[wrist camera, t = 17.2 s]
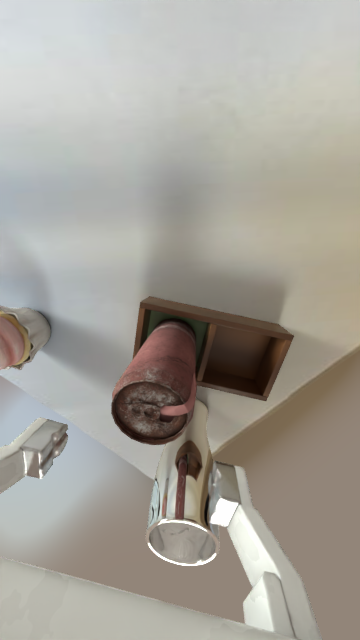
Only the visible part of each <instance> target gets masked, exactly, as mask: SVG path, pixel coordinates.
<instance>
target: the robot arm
mask: <svg viewBox="0 0 360 640" xmlns="http://www.w3.org/2000/svg"><path fill="white" fill-rule="evenodd" d="M67 429H68V425H67V424H63V423H59V422H56V421H52V420H49V419H45V418H41V417H40V418H38V419H36V420H35V421H34V422H33V423H32V424H31V425H30V426H29V427H28V428H27V429H26V430H25V431H24V432H23V433H21V434H20V435H19V436H18V437H17V438H16V439H15V440H14V441H13V442H12V443H11V444H10V445H9V446H8V445H5V446H3V447H1V448H0V494H1V493H2V492H4V491H5V490H7V489H8V488H9V487H11V486H12V485H14V484H15V483H16V482H18V481H19V480H21V479H22V478H23V477H25V475H26V476H31V477H36V478H40V479H42V478H43V477H44V476H45V474H46V473H47V472H48V470H49V469H50V467H51V466H52V465H53V459H54V458H56V457H57V456H59V455H60V454H61V452H62V451H63V449H64V447H65V445H66V443H67V440H68V435H67V434H66V431H67ZM208 494H209V496H210V497H211V499H210V502H209V522H210V523H213V524H217V525H220V526H224V527H227V530H228V532H229V535H230V537H231V539H232V542H233V544H234V546H235V548H236V551H237V553H238V556H239V558H240V560H241V562H242V565H243V567H244V569H245V572H246V574H247V576H248V579H249V581H250V583H251V586H252V588H253V589H252V590H251V592H250V593H249V595H248V596H247V598H246V599H245V601H244V603H243V609H244V616H245V624H243V623H239V622H235V621H232V620H228V619H224V618H221V617H217V616H213V615H210V614H206V613H203V612H199V611H196V610H192V609H189V608H185V607H182V606H178V605H174V604H170V603H167V602H163V601H160V600H156V599H153V598H149V597H145V596H142V595H138V594H135V593H131V592H127V591H124V590H120V589H117V588H113V587H109V586H106V585H102V584H98V583H95V582H92V581H88V580H84V579H81V578H77V577H74V576H70V575H66V574H62V573H59V572H55V571H52V570H48V569H45V568H41V567H38V566H34V565H30V564H27V563H23V562H20V561H16V560H12V559H9V558H5V557H1V556H0V640H322V637H321V634H320V631H319V628H318V625H317V622H316V619H315V616H314V613H313V610H312V607H311V603H310V600H309V597H308V594H307V591H306V588H305V585H304V582H303V580H302V578H301V577H300V575H299V573H298V572H297V570H296V569H295V567H294V566H293V564H292V563H291V561H290V560H289V558H288V556H287V555H286V553H285V552H284V550H283V549H282V547H281V546H280V544H279V543H278V541H277V540H276V538H275V536H274V535H273V533H272V532H271V530H270V529H269V527H268V526H267V524H266V523H265V521H264V520H263V518H262V517H261V515H260V513H259V512H258V511H257V509H256V508H253V504H252V499H251V495H250V491H249V486H248V482H247V478H246V473H245V470H244V468H243V467H239V466H234V465H231V464H227V463H222V462H218V461H214V463H213V470H211V471H210V474H209V479H208Z"/></svg>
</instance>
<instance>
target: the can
mask: <svg viewBox="0 0 360 640" xmlns="http://www.w3.org/2000/svg"><path fill="white" fill-rule="evenodd" d="M195 366H196V335H195V332H194V330H193V328H192V327H191V326H190V325H189V324H188V323H187V322H185V321H183V320H181V319H177V318H170V319H165V320H163V321H161V322H160V323H159V324H158V325H157V326H156V327H155V328H154V330H153V331H152V333H151V334H150V336H149V337H148V339H147V340H146V341H145V343H144V344H143V346H142V347H141V349H140V350H139V352H138V353H137V355H136V356H135V357H134V359H133V360H132V362H131V363H130V365H129V366H128V368H127V369H126V371H125V372H124V373H123V375H122V376H121V378H120V379H119V381H118V382H117V384H116V386H115V388H114V391H113V393H112V416H113V419H114V421H115V424H116V425H117V426H118V427H119V429H120V430H121V431H122V432H123V433H124V434H126V435H127V436H128V437H130V438H131V439H133V440H136V441H138V442H140V443H144V444H150V445H161V444H166V443H169V442H172V441H175V440H176V439H177V438H179V437H180V436H181V435H182V434H183V433H184V431H185V429H186V428H187V426H188V424H189V423H190V421H191V419H192V418H193V413H194V405H195V399H196V387H197V385H196V378H195Z"/></svg>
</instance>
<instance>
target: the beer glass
mask: <svg viewBox="0 0 360 640" xmlns="http://www.w3.org/2000/svg"><path fill="white" fill-rule="evenodd" d="M207 420H208V410H207V407H206V405H205V404H204V403H203V402H202V401H200V400H199V399H195V405H194V413H193V418H192V419H191V421H190V423H189V424H188V426H187V428H186V429H185V431H184V433H183V434H182V435H181V436H180V437H179V438H177V439H176V440H175V441H172V442H169V443H166V444H165V446H164V449H163V452H162V454H161V457H160V461H159V464H158V467H157V471H156V475H155V479H154V484H153V490H152V496H151V503H150V510H149V517H148V525H147V531H146V536H145V538H146V543H147V545H148V547H149V548H150V549H151V550H152V552H154V553H155V554H156V555H157V556H159V557H161V558H162V559H164V560H166V561H169V562H171V563H175V564H179V565H187V566H195V565H202V564H205V563H208V562H210V561H212V560H213V559H214V558H215V557H216V556H217V555H218V553H219V549H220V547H219V525H217V524H213V523H210V522H209V502H210V499H211V497H210V496H209V494H208V479H209V474H210V471H211V470H213V459H212V455H211V450H210V446H209V442H208V438H207V431H206V427H207Z"/></svg>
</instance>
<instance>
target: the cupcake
mask: <svg viewBox="0 0 360 640" xmlns="http://www.w3.org/2000/svg"><path fill="white" fill-rule="evenodd" d="M50 334H51V331H50V326H49V324H48V322H47V320H46V319H45V317H44V316H43V315H41V314H40V313H39V312H37V311H35V310H32V309H29V308H8V307H4V306H0V370H1V369H4V370H7V369H9V368H11V367H13V368H15V369H18V370H21V369H22V368H23V366H24V365H25V364H26V363H29V362H31V361H32V360H33V358H34V356H35V354H36V353H37V351H38V350H40V349H41V348H42V347H43V346H44V345H45V344H46V343H47V342H48V340H49V338H50Z"/></svg>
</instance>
